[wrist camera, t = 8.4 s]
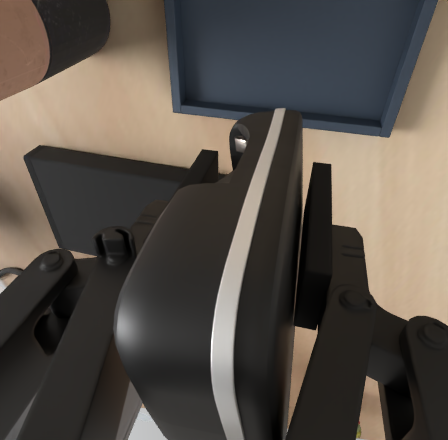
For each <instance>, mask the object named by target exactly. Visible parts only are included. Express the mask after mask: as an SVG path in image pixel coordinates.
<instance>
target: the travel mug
mask: <svg viewBox="0 0 448 440" xmlns="http://www.w3.org/2000/svg"><path fill="white" fill-rule="evenodd" d="M109 32H110V14H109V9H108V5H107V2H106V0H0V101H1V100H3V99H5V98H7V97H10V96H12V95H14V94H16V93H19V92H21V91H23V90H25V89H28V88H30V87H32V86H34V85H36V84H38V83H40V82H42V81H44V80H46V79H48V78H50V77H52V76H54V75H55V74H57V73H59V72H61V71H63V70H65V69H67V68H69V67H71V66H73V65H75V64H76V63H78V62H80V61H82V60H84V59H86V58H88V57H90V56H91V55H93V54H95V53H96V52H98V51H99V50H100V49H101V48H102V47H103V46H104V45H105V43H106V41H107V39H108V36H109Z"/></svg>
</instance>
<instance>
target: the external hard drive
mask: <svg viewBox="0 0 448 440" xmlns="http://www.w3.org/2000/svg"><path fill="white" fill-rule="evenodd" d="M24 161H25V163H26V166H27V168H28V171H29V173H30V176H31V178H32V181H33V183H34V186H35V188H36V191H37V193H38V196H39V198H40V201H41V203H42V206H43V209H44V211H45V214H46V216H47V219H48V221H49V224H50V226H51V229H52V231H53V234H54V236H55V239H56V241H57V244H58V246H59V248H62V249H66V250H71V251H75V252H80V253H84V254H89V255H94V256H97V254H96V251H95V248H94V245H93V242H92V237H93V236H94V235H95V234H96V233H97V232H99V231H100V230H102V229H104V228H107V227H111V226H123V227H126V228H128V229H130V228H131V226H132V225H133V224H134V222H136V219H137V218H138V217H139V216H140V214H141V212H142V211H143V210H144V208H145V207H146V206H147V205H148V204H150V203H151V202H153V201H154V200H156V199H157V200H163V201H169V200H170V199H171V197H172V196H173V194H174V193H175V191H176V190H177V188H178V186H179V185H180V183H181V182H182V180H183V179H184V177H185V176H186V174H187V172H188V171H189V169H184V168H178V167H172V166H166V165H159V164H153V163H147V162H141V161H134V160H128V159H122V158H116V157H109V156H103V155H97V154H91V153H85V152H78V151H72V150H66V149H60V148H53V147H47V146H41V145H39V146H38V147H36V148H35V149H33V150H32V151H30V152H29V153H27V154H26V155H24ZM225 176H227V175H222V174H218V181H219V180H221V179H222V178H224V177H225Z"/></svg>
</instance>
